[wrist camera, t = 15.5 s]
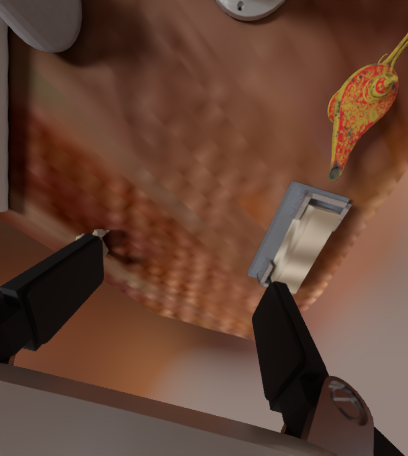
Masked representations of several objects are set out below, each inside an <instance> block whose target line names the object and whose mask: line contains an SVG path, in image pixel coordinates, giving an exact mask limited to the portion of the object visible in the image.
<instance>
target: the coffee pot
mask: <svg viewBox="0 0 408 456" xmlns="http://www.w3.org/2000/svg"><path fill="white" fill-rule="evenodd" d="M0 17H1V18H2V19H3V20H4V21H5V22H6V23H7V24H8V25H9V27H10V28H11V29H12V30H13V31H14V32H15V33H16V34H17V35H18V36H19V37H20V38H21V39H22V40H23V41H25V42H26V43H27V44H29V45H30V46H32V47H34V48H35V49H37V50H40V51H44V52H48V53H55V52H63V51H65V50H66V49H68V48H70V47H71V46H72V44H73V43H74V42H75V41H76V39H77V37H78V34H79V32H80V28H81V21H82V4H81V0H0Z"/></svg>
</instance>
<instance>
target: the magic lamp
mask: <svg viewBox="0 0 408 456" xmlns="http://www.w3.org/2000/svg"><path fill="white" fill-rule="evenodd" d="M407 38H408V34H407V35H406V36H405V37H404V39H403V40H402V41H401V42H400V44H399V45H398V46H397V47H396V48H395V50H394V51H393V52H392V53H391V54H390V56H389V57H388V58H387V59H386V60H385V61H384V62H383V63H380V61H381V59H382V58H383V57H384V56H385V55H388V54H385V55H383V57H382V58H381V59H380V60H379V62H378V63H377V64H371V65H367V66H365V67H363V68H361V69H359V70H358V71H356V72H355V73H354V74H353V75H352V76H350V77H349V78H348V79H347V81H346V82H345V83H344V84H343V86H342V87H341V89H340V90H338V91H337V92H336V93H335V94H334V96H333V97H332V99H331V100H330V102H329V105H328V117H329V119H330V121H331V122H332V123H333V124H334V126H333V136H332V158H331V167H330V171H329V175H328V179H329V181H335V180H337V179H338V178H339V177H340V175H341V173H342V171H343V169H344V167H345V165H346V163H347V160H348V158H349V156H350V153H351V151H352V149H353V147H354V146H355V144H356V143H357V141H358V140H359V139H360V138H361V136H362V135H363V134H364V133H365V132H366V131H367V130H368V129H369V128H370V127H371V126H373V125H374V124H375V123H376V122H377V121H378V120H379V119H380V118H382V117H383V116H384V114H385V113H386V112H387V111H388V110H389V108H390V107H391V106H392V104H393V102H394V100H395V97H396V95H397V91H398V76H397V74H396V72H395V71H394V70H393V67H394V64H395V62H396V60H397V59H398V57H399V56H400V54H401V53H402V51H403V50H404V49H405V47H407V46H408V45H407V44H408V41H407V42H406V43H405V45H403V44H404V42H405V41H406V40H407ZM402 45H403V47H402V48H401V49H400V47H401V46H402ZM399 49H400V51H398V50H399ZM397 51H398V54H396V53H397ZM395 54H396V57H394V55H395ZM393 57H394V60H393V62H392V64H391V65H390V66H391V67H390V66H388V63H389V62H390V61H391V59H392V58H393Z"/></svg>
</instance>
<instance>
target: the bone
mask: <svg viewBox="0 0 408 456" xmlns="http://www.w3.org/2000/svg"><path fill="white" fill-rule="evenodd" d="M108 232H109V230H107V231H105V230H103V229H96V230H94V232H93V234H92V235H96V236H99V237H100V239H101V240H102V237H103V236H104V235H105V234H106V233H108ZM83 235H85V234H84V233H83V234H82V235H81V236H77V237H76V240H77V239H79V238H80V237H82V236H83ZM102 241H103V240H102ZM108 251H109V250H108V248H107V247H106V245H105V243H104V242H103V258H104V257H105V256H106V254H107V253H108Z"/></svg>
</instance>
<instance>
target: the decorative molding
mask: <svg viewBox="0 0 408 456" xmlns="http://www.w3.org/2000/svg"><path fill="white" fill-rule="evenodd" d="M7 38H8V24H7V23H6V22H5V21H4V20H3V19H2V18H1V17H0V212H3V211H7V210H8V63H9V54H8V39H7Z"/></svg>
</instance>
